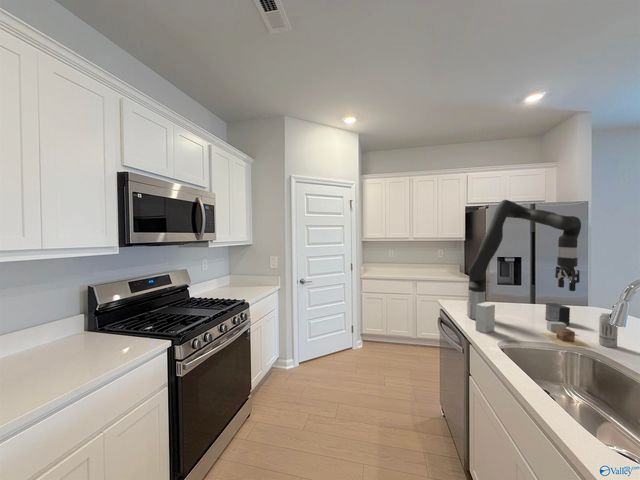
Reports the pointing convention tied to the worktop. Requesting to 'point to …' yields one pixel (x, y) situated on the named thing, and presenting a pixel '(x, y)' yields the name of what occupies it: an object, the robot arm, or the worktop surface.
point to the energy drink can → (607, 332)
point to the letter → (568, 344)
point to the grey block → (555, 326)
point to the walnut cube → (565, 334)
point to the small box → (557, 313)
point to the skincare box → (485, 317)
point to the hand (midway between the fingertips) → (566, 289)
